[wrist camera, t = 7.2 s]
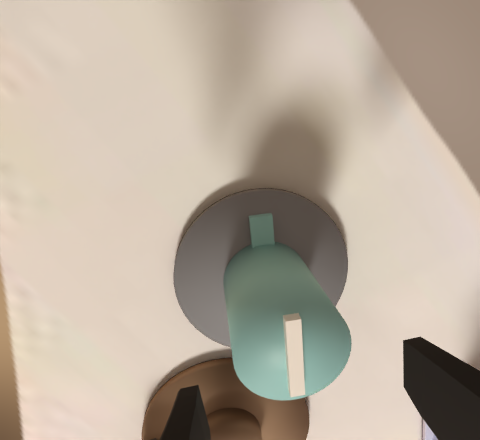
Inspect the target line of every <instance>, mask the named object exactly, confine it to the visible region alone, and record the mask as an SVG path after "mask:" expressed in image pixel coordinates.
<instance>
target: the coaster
mask: <svg viewBox="0 0 480 440" xmlns="http://www.w3.org/2000/svg"><path fill="white" fill-rule="evenodd" d="M266 213H271V214H272V216H273V229H274V242H279V243H282V244H285V245H287V246H289V247H291V248H292V249H293V250H295V251H296V252H297V253H298V254H299V256H300V257H301V258H302V260H303V261H304V263H305V264H306V266H307V267H308V269H309V270H310V271H311V273H312V274H313V276H314V277H315V279H316V280H317V281H318V283H319V284H320V286H321V287H322V289H323V290H324V292H325V293H326V294H327V296H328V297H329V299H330V300H331V302H332V303H333V305H334V306H336V304H337V303H338V301H339V299H340V297H341V294H342V292H343V290H344V286H345V283H346V278H347V271H348V258H347V251H346V247H345V243H344V240H343V238H342V235H341V233H340V231H339V229H338V228H337V226H336V225H335V223H334V222H333V220H332V219H331V218H330V217H329V216H328V215H327V214H326V213H325V212H324V211H323V210H322V209H320V208H319V207H318V206H317V205H315V204H314V203H313V202H311V201H309V200H308V199H306V198H304V197H302V196H300V195H297V194H295V193H292V192H288V191H285V190H279V189H272V188H259V189H251V190H245V191H242V192H238V193H235V194H232V195H230V196H227V197H225V198H223V199H221V200H219V201H217V202H216V203H214V204H213V205H211V206H210V207H208V208H207V209H206V210H204V211H203V212H202V213H201V214H200V215H199V216H198V217H197V218H196V219H195V220H194V222H193V223H192V224H191V225H190V227H189V228H188V230H187V231H186V233H185V235H184V236H183V238H182V241H181V243H180V245H179V248H178V251H177V255H176V259H175V266H174V287H175V293H176V297H177V299H178V302H179V305H180V307H181V309H182V311H183V313H184V314H185V316H186V317H187V319H188V320H189V321H190V323H191V324H192V325H193V326H194V327H195V328H196V329H197V330H199V331H200V332H201V333H202V334H204V335H205V336H206V337H208V338H210V339H211V340H213V341H215V342H217V343H220V344H222V345H225V346H228V347H231V342H230V334H229V325H228V317H227V309H226V301H225V293H224V284H223V280H224V273H225V270H226V267H227V265H228V264H229V262H230V260H231V259H232V258H233V257H234V256H235V255H236V254H237V253H238V252H239V251H240V250H242V249H243V248H245V247H247V246H249V245H251V235H250V225H249V216H251V215H259V214H266Z"/></svg>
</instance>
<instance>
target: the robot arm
mask: <svg viewBox="0 0 480 440" xmlns="http://www.w3.org/2000/svg"><path fill="white" fill-rule="evenodd" d="M403 358H404V388H405V390H406V391H407V393H408V395H409V397H410V398H411V400H412V402H413V404H414V405H415V407H416V408H417V410H418V412H419V413H420V415H421V417H422V418H423V438H422V440H480V371H479V370H477V369H475V368H474V367H472V366H470V365H468V364H467V363H465V362H463V361H461V360H460V359H458V358H456V357H454V356H453V355H451V354H449V353H448V352H446V351H444V350H442V349H441V348H439V347H437V346H436V345H434V344H432V343H430V342H429V341H427V340H425V339H423V338H421V337H417V338H412V339H408V340H403ZM159 440H211V435H210V427H209V424H208V420H207V416H206V412H205V408H204V405H203V401H202V397H201V393H200V389H199V386H198V385H195V386H190V387H186V388H181V389H180V390H179V391H178V393H177V396H176V399H175V402H174V405H173V407H172V410H171V413H170V415H169V418H168V420H167V423H166V425H165V428H164V430H163V433H162V435H161V437H160V439H159Z"/></svg>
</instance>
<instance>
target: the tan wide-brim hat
mask: <svg viewBox="0 0 480 440" xmlns="http://www.w3.org/2000/svg"><path fill="white" fill-rule="evenodd" d="M195 385H198V386H199V389H200V393H201V397H202V401H203V405H204V408H205V412H206V416H207V420H208V424H209V427H210V435H211V440H306V438H307V434H308V430H309V412H308V408H307V405H306V402H305V399H304V398H300V399H295V400H273V399H268V398H265V397H262V396H259V395H257V394H255V393H253V392H252V391H250V390H249V389H248V388H247V387H246V386H244V384H243V383H242V382H241V381H240V379H239V378H238V376H237V374H236V371H235V369H234V364H233V358H222V359H216V360H211V361H207V362H203V363H200V364H197V365H195V366H192V367H190V368H188V369H186V370H184V371H182V372H180V373H178V374H177V375H176V376H174V377H173V378H171V379H170V380H169V381H168V382H166V383H165V384H164V385H163V386H162V387H161V388H160V389H159V391H158V392H157V393H156V394H155V396H154V397H153V399H152V400H151V402H150V404H149V406H148V408H147V410H146V414H145V417H144V422H143V427H142V440H159V439H160V437H161V435H162V433H163V430H164V428H165V425H166V423H167V420H168V418H169V415H170V413H171V410H172V407H173V405H174V402H175V399H176V396H177V393H178V391H179V390H180V389H181V388H186V387H190V386H195Z"/></svg>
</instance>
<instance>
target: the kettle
mask: <svg viewBox="0 0 480 440" xmlns="http://www.w3.org/2000/svg"><path fill="white" fill-rule="evenodd" d="M249 225H250V235H251V245H249V246H247V247H245V248H243V249H242V250H240V251H239V252H238V253H237V254H236V255H235V256H234V257H233V258H232V259H231V260H230V262H229V264H228V265H227V267H226V270H225V273H224V280H223V284H224V293H225V301H226V309H227V317H228V325H229V334H230V342H231V350H232V358H233V364H234V369H235V371H236V374H237V376H238V378H239V379H240V381H241V382H242V383H243V384H244V386H246V387H247V388H248V389H249V390H250V391H252V392H253V393H255V394H257V395H259V396H262V397H265V398H268V399H273V400H295V399H300V398H304V397H307V396H310V395H312V394H315V393H317V392H319V391H320V390H322V389H324V388H325V387H326V386H328V385H329V384H330V383H332V382H333V381H334V380H335V379H336V378H337V377H338V375H339V374H340V373H341V372H342V370H343V369H344V367H345V365H346V363H347V361H348V358H349V356H350V351H351V335H350V331H349V328H348V326H347V324H346V322H345V321H344V319H343V318H342V316H341V315H340V313H339V312H338V310H337V309H336V307H335V306H334V305H333V303H332V302H331V300H330V299H329V297H328V296H327V294H326V293H325V292H324V290H323V289H322V287H321V286H320V284H319V283H318V281H317V280H316V279H315V277H314V276H313V274H312V273H311V271H310V270H309V269H308V267H307V266H306V264H305V263H304V261H303V260H302V258H301V257H300V256H299V254H298V253H297V252H296V251H295V250H293V249H292V248H291V247H289V246H287V245H285V244H282V243H279V242H274V229H273V216H272V214H271V213H266V214H259V215H251V216H249Z"/></svg>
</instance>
